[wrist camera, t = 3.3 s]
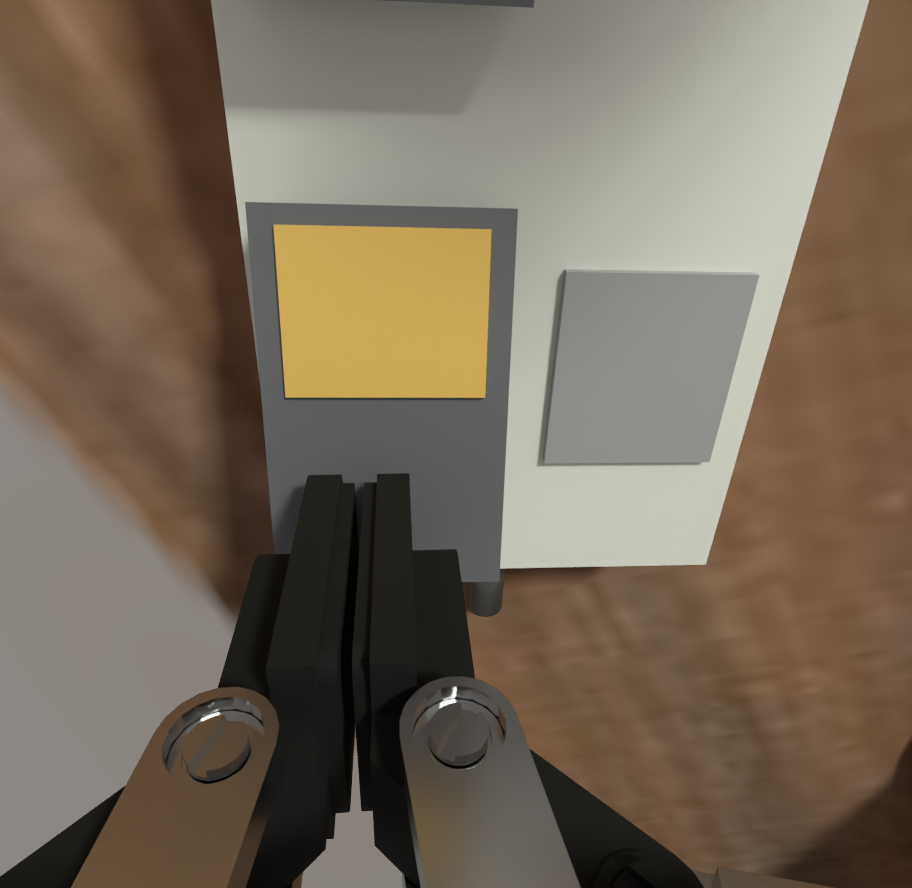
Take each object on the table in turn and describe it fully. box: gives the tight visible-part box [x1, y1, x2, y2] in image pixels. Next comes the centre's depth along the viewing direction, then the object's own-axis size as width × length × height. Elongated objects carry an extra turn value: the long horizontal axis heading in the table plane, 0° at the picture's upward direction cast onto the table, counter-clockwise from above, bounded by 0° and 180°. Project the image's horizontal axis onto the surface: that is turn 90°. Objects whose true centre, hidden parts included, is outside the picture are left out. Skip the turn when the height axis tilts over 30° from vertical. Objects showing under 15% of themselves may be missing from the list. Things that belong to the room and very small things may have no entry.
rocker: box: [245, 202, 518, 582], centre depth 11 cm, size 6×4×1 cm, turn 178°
